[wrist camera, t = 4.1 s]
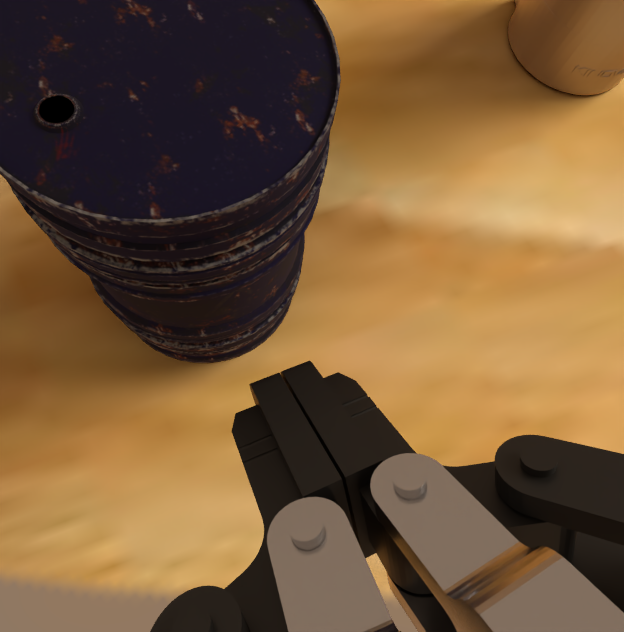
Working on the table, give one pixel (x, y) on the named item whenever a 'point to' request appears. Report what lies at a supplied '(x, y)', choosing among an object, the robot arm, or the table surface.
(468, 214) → the table surface
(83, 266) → the dark ribbed cylinder
